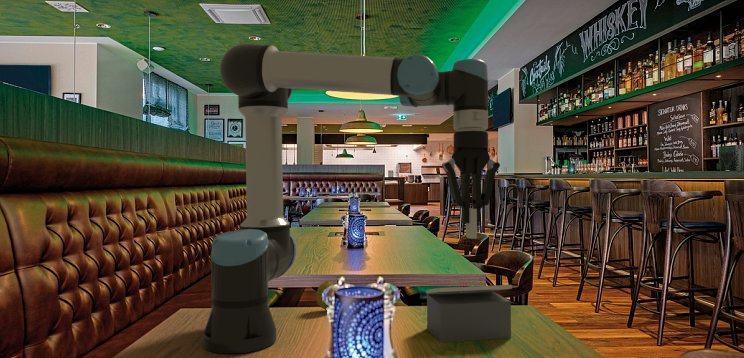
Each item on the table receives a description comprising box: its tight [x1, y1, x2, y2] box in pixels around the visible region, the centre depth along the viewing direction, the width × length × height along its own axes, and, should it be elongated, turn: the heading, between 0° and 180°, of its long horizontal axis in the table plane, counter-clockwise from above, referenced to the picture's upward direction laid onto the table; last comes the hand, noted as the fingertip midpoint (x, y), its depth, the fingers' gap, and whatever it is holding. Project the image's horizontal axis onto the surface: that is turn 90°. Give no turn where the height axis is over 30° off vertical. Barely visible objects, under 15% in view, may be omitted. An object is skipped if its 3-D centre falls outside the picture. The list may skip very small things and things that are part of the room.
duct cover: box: [425, 284, 513, 295], centre depth 113 cm, size 16×10×1 cm, turn 100°
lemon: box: [316, 280, 335, 311], centre depth 132 cm, size 6×6×8 cm
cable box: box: [426, 291, 512, 343], centre depth 113 cm, size 16×10×8 cm, turn 100°
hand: (471, 237), depth 111 cm, fingers closed
